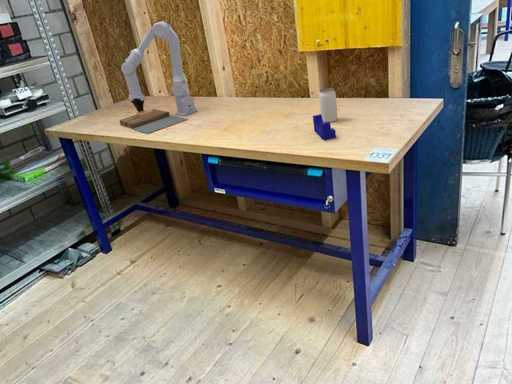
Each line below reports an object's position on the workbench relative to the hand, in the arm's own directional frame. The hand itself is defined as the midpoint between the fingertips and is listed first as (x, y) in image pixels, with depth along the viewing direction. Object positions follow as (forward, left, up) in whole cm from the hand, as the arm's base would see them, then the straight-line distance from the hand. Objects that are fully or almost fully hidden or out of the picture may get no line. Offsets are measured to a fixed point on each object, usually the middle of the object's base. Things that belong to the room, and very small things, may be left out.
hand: (141, 113), depth 217 cm
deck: (-5, +1, -3) cm, 6 cm away
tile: (-5, 0, -1) cm, 5 cm away
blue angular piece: (-105, -20, -4) cm, 107 cm away
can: (-96, -34, -3) cm, 102 cm away
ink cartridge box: (+10, -32, -3) cm, 34 cm away
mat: (-21, +1, -3) cm, 21 cm away
